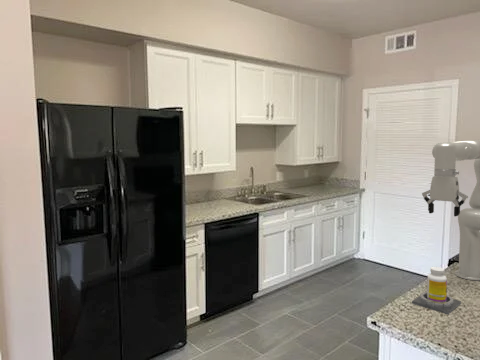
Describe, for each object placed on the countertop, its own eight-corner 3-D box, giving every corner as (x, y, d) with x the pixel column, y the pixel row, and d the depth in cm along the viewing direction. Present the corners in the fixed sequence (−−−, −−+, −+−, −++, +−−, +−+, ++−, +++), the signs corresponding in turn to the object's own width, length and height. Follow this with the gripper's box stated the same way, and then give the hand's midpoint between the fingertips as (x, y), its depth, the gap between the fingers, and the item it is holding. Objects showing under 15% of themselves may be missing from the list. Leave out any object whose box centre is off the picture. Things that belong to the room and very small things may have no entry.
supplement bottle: (449, 305, 137) (449, 272, 136) (429, 304, 139) (430, 271, 138) (443, 297, 144) (443, 266, 143) (424, 296, 145) (425, 265, 144)
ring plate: (426, 294, 150) (426, 288, 150) (461, 303, 141) (461, 297, 140) (411, 303, 142) (412, 297, 142) (448, 314, 132) (448, 307, 132)
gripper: (471, 173, 146) (470, 215, 148) (426, 172, 159) (425, 210, 161) (464, 175, 141) (463, 218, 143) (419, 173, 154) (418, 213, 156)
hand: (443, 214), depth 152 cm, fingers open, 9 cm apart
